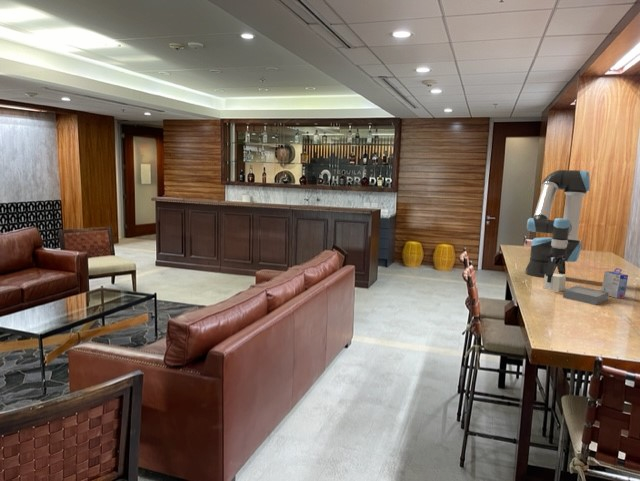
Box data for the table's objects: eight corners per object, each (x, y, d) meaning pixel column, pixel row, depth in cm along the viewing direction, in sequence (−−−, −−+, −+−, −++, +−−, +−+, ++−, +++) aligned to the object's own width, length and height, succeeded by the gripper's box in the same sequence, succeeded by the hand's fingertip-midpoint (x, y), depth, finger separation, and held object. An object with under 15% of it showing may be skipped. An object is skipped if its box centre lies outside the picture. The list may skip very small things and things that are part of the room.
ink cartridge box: (625, 298, 233) (629, 270, 231) (617, 298, 232) (621, 270, 229) (608, 293, 242) (612, 266, 240) (600, 293, 241) (604, 266, 239)
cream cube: (549, 286, 252) (551, 272, 250) (564, 289, 246) (566, 275, 244) (542, 288, 247) (544, 274, 245) (558, 292, 241) (560, 277, 239)
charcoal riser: (575, 293, 239) (576, 285, 239) (607, 299, 228) (608, 292, 228) (562, 297, 229) (563, 289, 229) (595, 304, 218) (596, 296, 217)
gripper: (556, 250, 232) (551, 291, 235) (575, 246, 247) (570, 285, 251) (541, 247, 238) (536, 288, 241) (561, 244, 253) (556, 282, 256)
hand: (554, 286), depth 246 cm, fingers open, 12 cm apart
